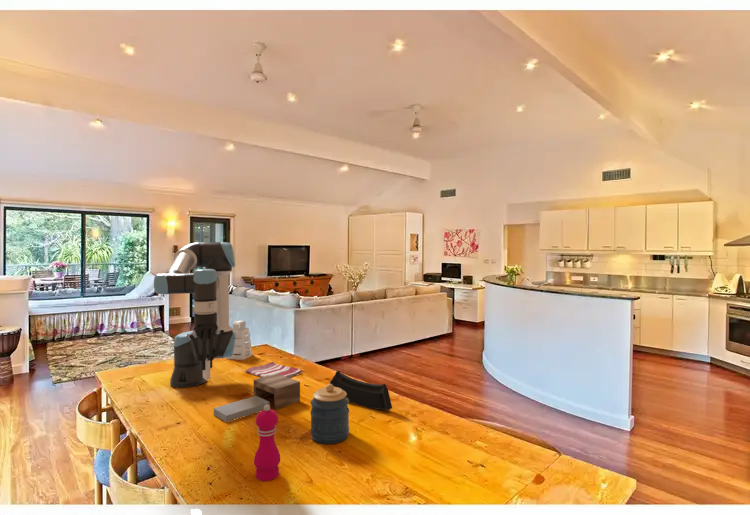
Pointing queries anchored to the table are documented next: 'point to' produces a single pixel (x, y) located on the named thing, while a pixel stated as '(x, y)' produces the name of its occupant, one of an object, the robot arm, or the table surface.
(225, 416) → the tile
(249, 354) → the grater
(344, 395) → the canister
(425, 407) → the table surface
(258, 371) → the dish towel
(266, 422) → the pepper mill
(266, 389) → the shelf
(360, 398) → the magazine
